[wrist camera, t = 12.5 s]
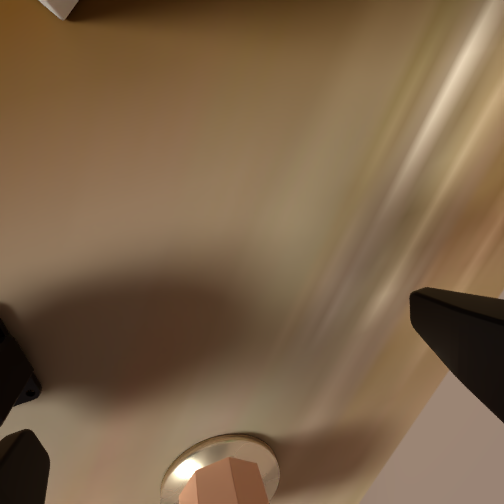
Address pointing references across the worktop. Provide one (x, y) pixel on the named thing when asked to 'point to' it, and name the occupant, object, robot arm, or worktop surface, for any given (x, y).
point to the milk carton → (60, 7)
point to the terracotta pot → (225, 484)
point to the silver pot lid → (214, 452)
